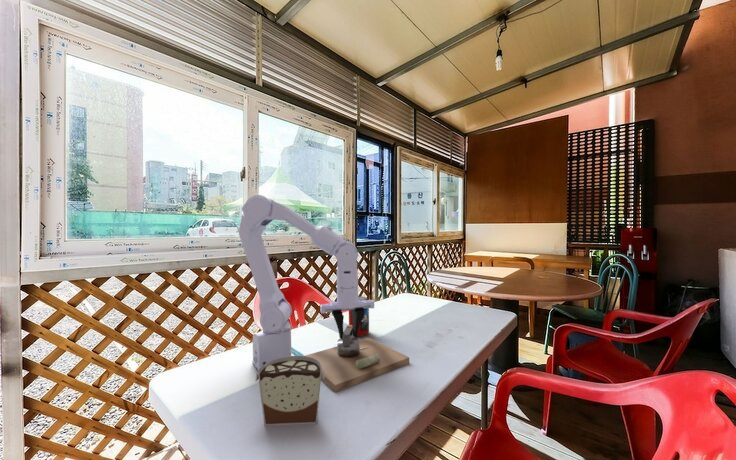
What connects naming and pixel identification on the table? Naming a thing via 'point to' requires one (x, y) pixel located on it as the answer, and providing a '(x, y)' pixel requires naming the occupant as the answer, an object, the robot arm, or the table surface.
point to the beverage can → (365, 320)
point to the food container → (290, 390)
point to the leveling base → (348, 367)
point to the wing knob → (348, 343)
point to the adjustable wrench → (296, 352)
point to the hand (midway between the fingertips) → (348, 336)
